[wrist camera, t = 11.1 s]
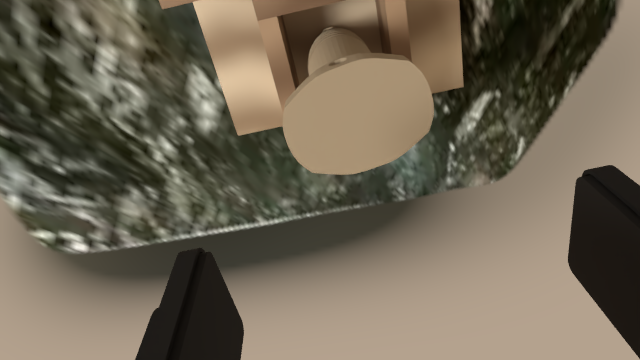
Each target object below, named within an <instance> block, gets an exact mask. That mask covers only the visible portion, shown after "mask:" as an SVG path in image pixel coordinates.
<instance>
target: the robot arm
mask: <svg viewBox="0 0 640 360" xmlns="http://www.w3.org/2000/svg"><path fill="white" fill-rule="evenodd" d="M568 263H569V266H570V269H571V271H572V273H573V274H574V275H575V277H576V278H577V279H578V281H579V282H580V283H581V284H582V286H583V287H584V288H585V289H586V291H587V292H588V293H589V295H590V296H591V297H592V298H593V300H594V301H595V302H596V303H597V305H598V306H599V307H600V308H601V310H602V311H603V312H604V314H605V315H606V316H607V318H608V319H609V320H610V321H611V323H612V324H613V325H614V327H615V328H616V329H617V330H618V332H619V333H620V334H621V335H622V337H623V338H624V339H625V341H626V342H627V343H628V344H629V346H630V347H631V348H632V350H633V351H634V352H635V353H636V355H637V356H638V357H639V358H640V186H639V185H638V184H637V183H635V182H634V181H633V180H632V179H630V178H629V177H628V176H626V175H625V174H624V173H623V172H621V171H620V170H619V169H617V168H616V167H614V166H612V165H608V166H603V167H599V168H593V169H588V170H585V171H584V172H583V174H582V177H579V178H578V179H577V180H576V186H575V196H574V205H573V215H572V224H571V234H570V244H569V253H568ZM243 336H244V330H243V323H242V320H241V317H240V315H239V313H238V311H237V309H236V306H235V304H234V302H233V299H232V298H231V295H230V293H229V291H228V288H227V286H226V284H225V282H224V279H223V277H222V275H221V273H220V270H219V268H218V266H217V264H216V261H215V259H214V257H213V255H212V253H211V252H205V251H204V250H203V249H202V248H197V249H192V250H187V251H182V252H180V253H178V255H177V258H176V261H175V263H174V267H173V269H172V272H171V275H170V278H169V280H168V283H167V286H166V289H165V292H164V295H163V297H162V300H161V303H160V306H159V308H157V309H156V310H155V311H154V312H153V314H152V316H151V318H150V321H149V324H148V326H147V329H146V332H145V335H144V337H143V340H142V343H141V345H140V348H139V351H138V354H137V356H136V359H135V360H240V359H241V352H242V344H243Z"/></svg>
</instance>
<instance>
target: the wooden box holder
mask: <svg viewBox="0 0 640 360" xmlns="http://www.w3.org/2000/svg"><path fill="white" fill-rule="evenodd" d="M159 2H160V5H161V7H162V9H165V8H169V7H174V6H178V5H182V4H186V3H190V2H193V4H194V7H195V10H196V13H197V16H198V19H199V22H200V25H201V28H202V31H203V34H204V37H205V40H206V42H207V45H208V48H209V51H210V54H211V57H212V60H213V63H214V66H215V69H216V72H217V75H218V78H219V81H220V84H221V87H222V90H223V93H224V96H225V99H226V101H227V104H228V107H229V110H230V113H231V116H232V119H233V122H234V125H235V128H236V131H237V134H238V136H239V135H243V134H248V133H252V132H257V131H262V130H266V129H271V128H276V127H280V126H283V113H284V107H285V102H286V100H287V99H288V97H289V96H290V95H291V94H292V93H293V92H294V91H295V90H296V89H297V87H298V86H299V85H300V84H301V83H302V82H303V81H304V80H305V79H306V78H307V77H309V72H308V57H309V52H310V49H311V46H312V44H313V43H314V41H315V39H316V38H317V37H318V36H319V35H320V34H321V33H322V31H323V29H325V28H327V27H330V26H332V27H333V28H343V29H347V30H350V31H351V32H353V33H355V34H356V35H357V36H359V37H360V38H361V39H362V40H363V41H364V43H365V44H366V45H367V47H368V49H369V50H370V52H371V53H384V54H394V55H402V56H405V57H406V58H407V59H409V60H410V61H411V62H412V63H413V64H414V65H415V66H416V67H417V68H418V69H419V70H420V71H421V72H422V73H423V75H424V77H425V78H426V80H427V82H428V84H429V87H430V90H431V93H432V94H433V93H437V92H442V91H446V90H451V89H456V88H460V87H464V86H463V66H462V47H461V27H460V7H459V0H159Z"/></svg>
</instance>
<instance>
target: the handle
mask: <svg viewBox="0 0 640 360" xmlns="http://www.w3.org/2000/svg"><path fill="white" fill-rule="evenodd" d="M308 72H309V77H307V78H306V79H305V80H304V81H303V82H302V83H301V84H300V85H299V86H298V87H297V89H296V90H295V91H294V92H293V93H292V94H291V95H290V96H289V97H288V99H287V100H286V102H285V107H284V113H283V130H284V136H285V139H286V142H287V144H288V147H289V148H290V150H291V152H292V154H293V156H294V157H295V158H296V159H297V161H298V162H299V163H300V164H301V165H302V166H304V167H305V168H306V169H308V170H309V171H311V172H313V173H323V174H341V175H344V174H356V173H360V172H364V171H367V170H370V169H372V168H375V167H378V166H381V165H384V164H387V163H389V162H391V161H393V160H395V159H397V158H398V157H400V156H401V155H403V154H404V153H405V152H407V151H408V150H409V149H410V148H411V147H412V146H414V145H415V144H416V143H417V142H418V141H419V140H420V139H421V138H422V137H424V136H425V135H426V134H427V133H428V132H429V129H430V127H431V124H432V120H433V115H434V104H433V98H432V93H431V90H430V87H429V84H428V82H427V80H426V78H425V77H424V75H423V73H422V72H421V71H420V70H419V69H418V68H417V67H416V66H415V65H414V64H413V63H412V62H411V61H410V60H409V59H407V58H406V57H405V56H402V55H394V54H384V53H371V52H370V50H369V49H368V47H367V45H366V44H365V43H364V41H363V40H362V39H361V38H360V37H359V36H357V35H356V34H355V33H353V32H351V31H350V30H347V29H343V28H333V27H332V26H330V27H327V28H325V29H323V31H322V33H321V34H320V35H319V36H318V37H317V38H316V39H315V41H314V43H313V44H312V46H311V49H310V52H309V57H308Z"/></svg>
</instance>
